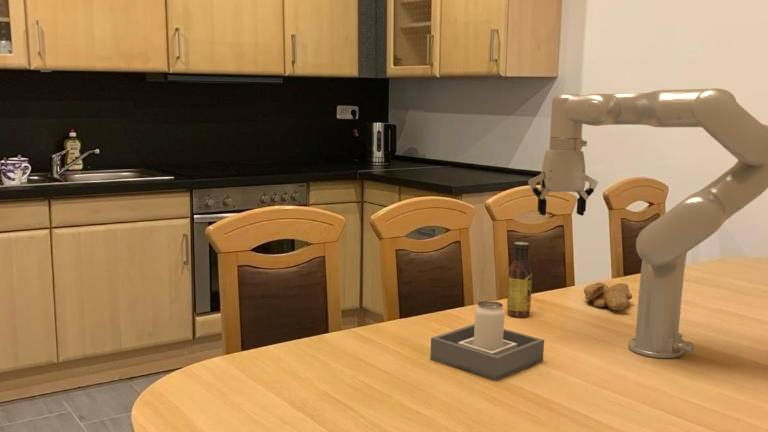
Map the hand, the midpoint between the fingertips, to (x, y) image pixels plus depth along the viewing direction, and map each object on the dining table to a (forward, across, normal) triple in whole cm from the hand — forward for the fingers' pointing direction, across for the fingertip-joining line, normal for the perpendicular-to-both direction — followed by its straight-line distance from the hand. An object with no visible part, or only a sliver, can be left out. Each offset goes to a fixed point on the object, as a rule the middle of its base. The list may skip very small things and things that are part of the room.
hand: (561, 214), depth 194 cm
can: (+29, +22, +19) cm, 42 cm away
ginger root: (+31, -24, -24) cm, 46 cm away
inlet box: (+30, +22, +19) cm, 42 cm away
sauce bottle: (+30, +5, -16) cm, 35 cm away
